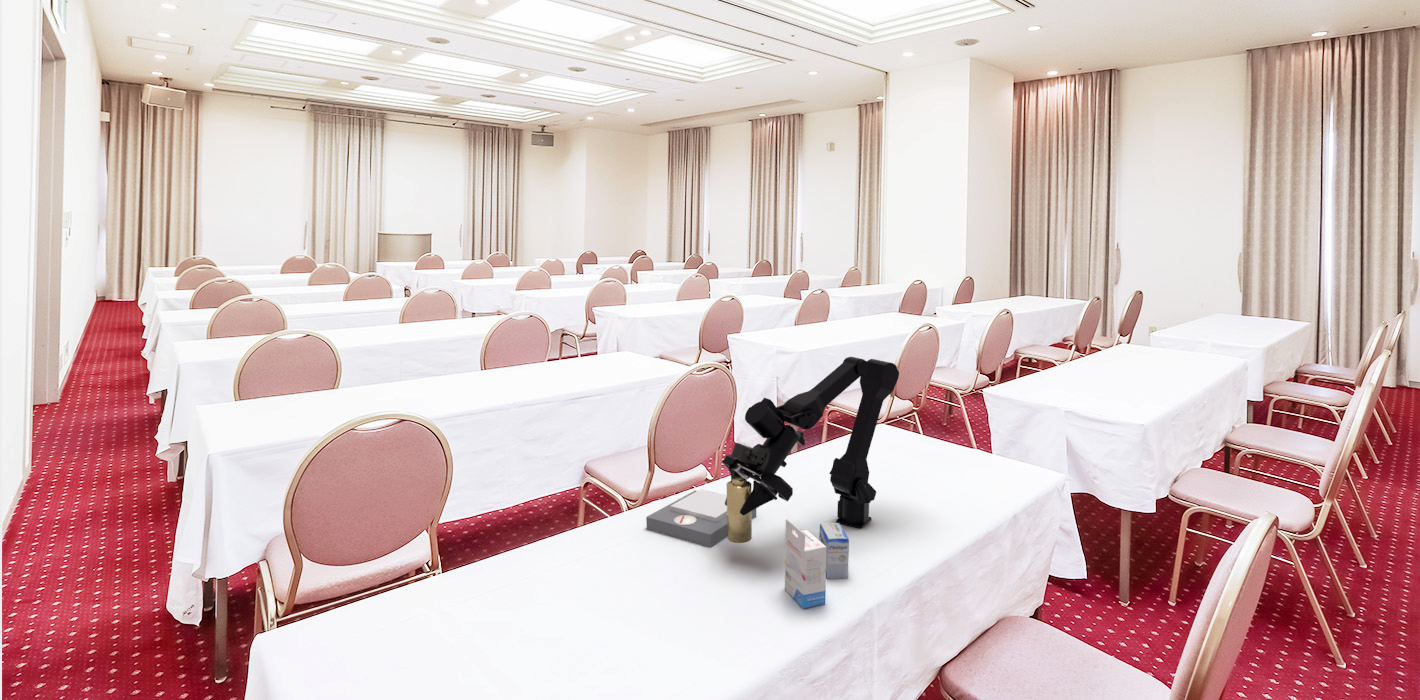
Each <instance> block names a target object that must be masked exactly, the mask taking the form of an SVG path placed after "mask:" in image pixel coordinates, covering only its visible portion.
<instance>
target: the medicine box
mask: <svg viewBox="0 0 1420 700" xmlns="http://www.w3.org/2000/svg"><path fill="white" fill-rule="evenodd" d="M818 534H819V537H818V538H819V539H818V540H819V541H820V542H821V543H823V544H824V545H825V546H826V547H827V551H826V579H830V580H831V579H847V578H848V577H849V561H850V560H849V559H850V558H849V557H850V555H849V552H850V539H849V537H848V536H847V533H845V530H844V529H843V528H842V524H841V523H837V522H825V523H824V522H822V523H819V531H818Z"/></svg>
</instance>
